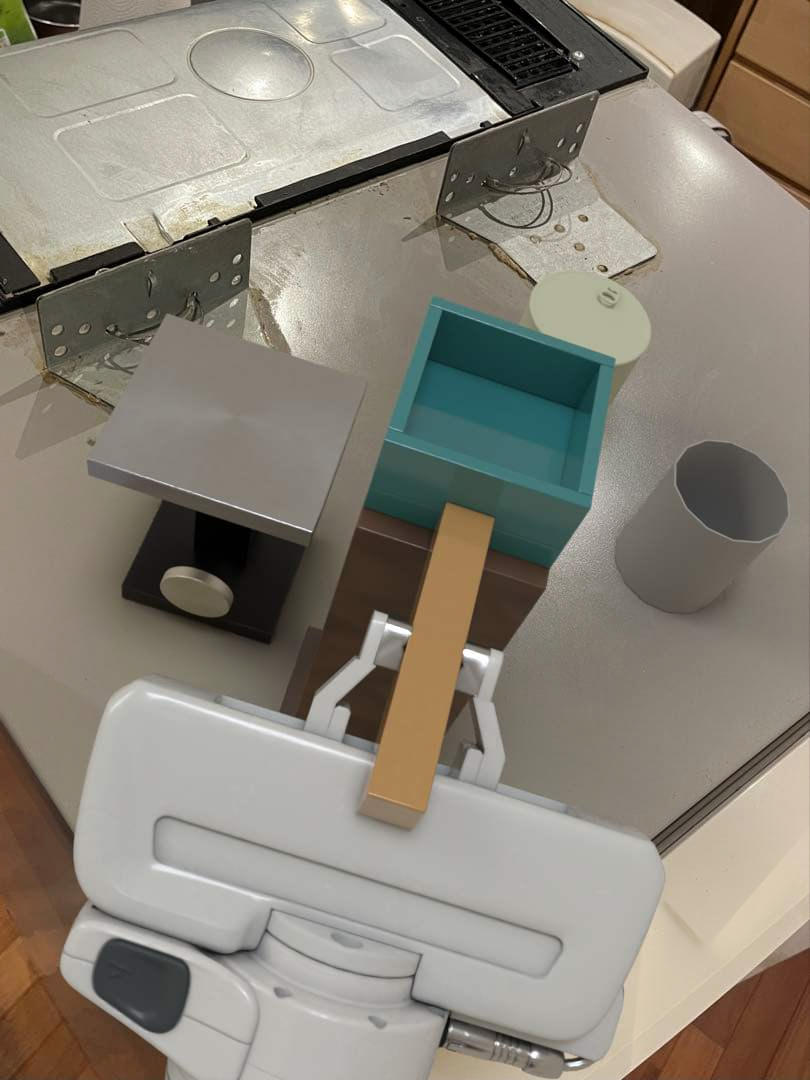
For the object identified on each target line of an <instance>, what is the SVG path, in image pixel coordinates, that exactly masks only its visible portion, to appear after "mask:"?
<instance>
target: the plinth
mask: <svg viewBox="0 0 810 1080" xmlns="http://www.w3.org/2000/svg"><path fill="white" fill-rule="evenodd" d="M364 501H365V499H364V500H363V503H362V506H361V510H360V513H359V516H358V518H357V522H356V525H355V528H354V531H353V534H352V537H351V540H350V543H349V546H348V550H347V553H346V555H345V559H344V561H343V565H342V568H341V571H340V574H339V577H338V580H337V584H336V586H335V589H334V593H333V597H332V599H331V601H330V606H329V609H328V612H327V615H326V617H325V621H324V624H323V627H322V629H321V628H318V627H315V626H312V625H308V627H307V629H306V632H305V635H304V639H303V641H302V645H301V647H300V649H299V653H298V655H297V659H296V661H295V665H294V668H293V670H292V673H291V676H290V680H289V682H288V685H287V688H286V691H285V693H284V697H283V700H282V703H281V705H280V709H279V711H278V712H280V713H283V714H286V715H290V716H293V717H296V718H299V719H302V720H305V721H306V720H307V717H308V713H309V710H310V707H311V704H312V701H313V698H314V695H315V692H316V691H317V690H318V689H319V688H320V687H321V686H322V685H323V684H324V683H325V682H327V681H328V680H329V679H330V678H331V677H332V676H333V675H334V674H335V673H336V672H338V671H339V670H340V669H341V668H342V667H343V666H344V665H345V664H346V663H347V662H349V661H350V660H351V659H352V658H353V657H354V656H359V653H360V650H361V647H362V644H363V641H364V638H365V635H366V632H367V629H368V626H369V623H370V620H371V617H372V614H373V612H374V610H376V611H379V612H382V613H385V614H388V615H391V616H394V617H397V618H400V619H403V620H406V621H409V619H410V615H411V612H412V608H413V604H414V601H415V597H416V594H417V590H418V586H419V583H420V579H421V576H422V572H423V568H424V565H425V561H426V557H427V554H428V550H429V547H430V543H431V539H432V536H433V532H434V530H431V529H428V528H425V527H422V526H419V525H416V524H413V523H410V522H407V521H404V520H401V519H398V518H395V517H392V516H389V515H386V514H383V513H380V512H377V511H374V510H371V509H368V508H365V507H363V504H364ZM550 571H551V568H550V569H549V568H546V567H543V566H540V565H537V564H534V563H531V562H528V561H525V560H522V559H519V558H516V557H513V556H510V555H507V554H504V553H501V552H498V551H495V550H492V549H489V548H488V551H487V555H486V560H485V564H484V568H483V572H482V577H481V581H480V585H479V589H478V594H477V598H476V602H475V607H474V611H473V615H472V619H471V624H470V628H469V632H468V636H467V641H470V642H474V643H477V644H480V645H483V646H486V647H489V648H492V649H495V650H499V651H501V652H504V651H505V649H506V648H507V646H508V645H509V644H510V642H511V641H512V639H513V638H514V636H515V635H516V633H517V632H518V630H519V629H520V628H521V626H522V625H523V623H524V622H525V620H526V619H527V617H528V615H529V614H530V613H531V612H532V610H534V609H533V608H534V607H535V606H536V605H537V603H538V602H539V600H540V599H541V597H542V596H543V594H544V593H545V591H546V590H547V586H548V581H549V580H548V579H549V576H550ZM394 673H395V670H392V669H389V668H385V667H382V666H379V665H376V667H375V668H374V669H373V670H372V671H371V672H370V673H369V674H368V675H366V676H365V677H364V678H363V679H362V680H361V681H360V682H359V683H358V684H357V685H356V686H355V687H354V688H353V689H351V690H350V691H349V692H348V693H347V694H346V695H345V696H344V697H343V698H342V699H341V700H343V701H346V702H349V705H350V710H351V714H350V717H349V721H348V724H347V727H346V730H345V733H346V734H349V735H353V736H356V737H359V738H362V739H365V740H368V741H371V742H376V738H377V735H378V731H379V727H380V724H381V720H382V716H383V713H384V709H385V706H386V702H387V698H388V695H389V691H390V688H391V684H392V680H393V677H394ZM467 704H469V701H468V696H467V694H466V693H463V692H460V691H457V690H455V692H454V696H453V700H452V704H451V709H450V713H449V717H448V721H447V726H446V730H445V734H444V737H446V735H447V733H448V732H449V730H450V729H451V727H452V726H453V724H455V722H456V720H457V719H458V718H459V715H461V713H462V711H463V710H464V708H465V707H466V706H467Z"/></svg>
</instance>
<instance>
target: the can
mask: <svg viewBox="0 0 810 1080" xmlns="http://www.w3.org/2000/svg"><path fill="white" fill-rule="evenodd" d="M650 321H651V320H650V318H649V315H648V314H647V311H646V310H645V308H644V306H643V305H642V304H641V302H640V301H639V300H638V298H637V297H635V296H634V294H632V293H631V292H630V291H629V290H628V289H627V288H625V287H624V286H623V285H621V284H619V283H618V282H616V281H614V280H613V279H610V278H609V277H607V276H604V275H601V274H598V273H595V272H591V271H587V270H579V269H565V270H558V271H555V272H552V273H550V274H548V275H546V276H544V277H543V278H541V279H540V280H539V281H538V282H537V283H536V284H535V285H534V287H533V288H532V290H531V293H530V295H529V299H528V303H527V305H526V307H525V309H524V312H523V315H522V317H521V320H520V321H519V324H518V325H520V326H523V327H526V328H529V329H532V330H535V331H538V332H541V333H544V334H546V335H549V336H552V337H555V338H558V339H561V340H564V341H567V342H570V343H573V344H576V345H579V346H582V347H584V348H587V349H590V350H593V351H596V352H599V353H602V354H605V355H608V356H611V357H614V358H615V359H616V361H615V367H614V373H613V379H612V385H611V391H610V397H609V403H608V409H607V411H608V410H609V409H610V407H611V405H613V402H614V400H615V399H616V397H617V395H618V394H619V392H620V390H621V389H622V387H623V386H624V384H625V382H626V381H627V379H628V378H629V376H630V375H631V373H632V372H633V370H634V368H635V367H636V365H637V364H638V362H639V361H640V359H641V357H642V356H643V355H644V354H645V353H646V351H647V350H648V348H649V346H650V343H651V340H652V325H651V322H650Z"/></svg>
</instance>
